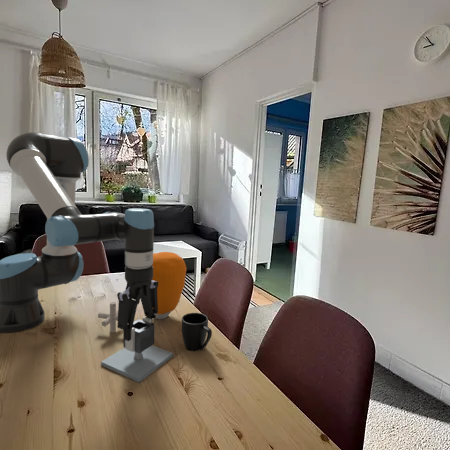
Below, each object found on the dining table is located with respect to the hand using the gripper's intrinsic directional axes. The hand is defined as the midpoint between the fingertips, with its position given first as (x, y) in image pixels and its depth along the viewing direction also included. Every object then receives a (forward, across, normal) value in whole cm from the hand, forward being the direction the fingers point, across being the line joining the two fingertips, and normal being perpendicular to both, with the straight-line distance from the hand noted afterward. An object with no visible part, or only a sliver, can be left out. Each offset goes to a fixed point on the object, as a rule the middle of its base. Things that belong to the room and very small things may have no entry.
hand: (138, 344), depth 87 cm
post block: (+5, 0, 0) cm, 5 cm away
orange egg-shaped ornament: (+5, +25, +12) cm, 28 cm away
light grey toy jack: (+5, +8, +19) cm, 21 cm away
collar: (0, 0, 0) cm, 0 cm away
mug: (+5, +14, -11) cm, 18 cm away
